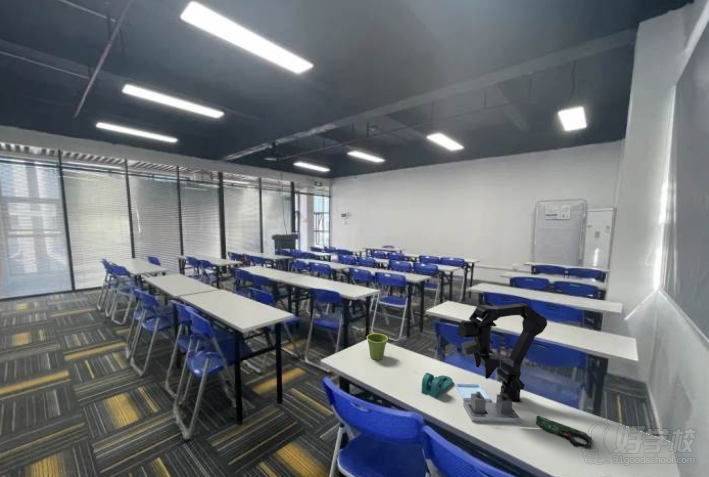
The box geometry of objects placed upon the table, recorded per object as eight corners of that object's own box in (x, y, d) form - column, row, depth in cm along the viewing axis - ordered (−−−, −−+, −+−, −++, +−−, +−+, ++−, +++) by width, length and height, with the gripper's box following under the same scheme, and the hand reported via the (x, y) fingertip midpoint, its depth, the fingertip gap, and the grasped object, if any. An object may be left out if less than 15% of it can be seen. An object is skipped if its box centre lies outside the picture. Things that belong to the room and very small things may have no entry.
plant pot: (361, 357, 155) (362, 337, 155) (374, 350, 164) (374, 331, 164) (379, 364, 148) (379, 343, 147) (391, 357, 157) (392, 337, 156)
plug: (480, 410, 111) (481, 389, 111) (484, 417, 107) (485, 395, 107) (470, 410, 111) (471, 389, 111) (474, 417, 107) (475, 395, 107)
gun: (534, 428, 102) (537, 413, 110) (534, 431, 102) (536, 417, 110) (593, 450, 92) (591, 433, 100) (592, 455, 92) (590, 437, 100)
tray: (478, 387, 129) (479, 383, 129) (490, 402, 117) (490, 398, 117) (454, 386, 129) (454, 382, 129) (463, 401, 118) (463, 397, 118)
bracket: (435, 400, 119) (436, 382, 118) (421, 393, 124) (422, 375, 123) (455, 384, 131) (455, 367, 131) (441, 378, 136) (442, 362, 136)
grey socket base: (507, 409, 113) (508, 387, 113) (520, 424, 104) (521, 401, 104) (463, 407, 114) (464, 385, 114) (471, 423, 105) (472, 399, 105)
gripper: (456, 327, 126) (455, 361, 127) (473, 345, 108) (471, 384, 108) (481, 328, 126) (480, 362, 127) (502, 345, 108) (500, 385, 108)
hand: (482, 372), depth 118 cm, fingers open, 9 cm apart
